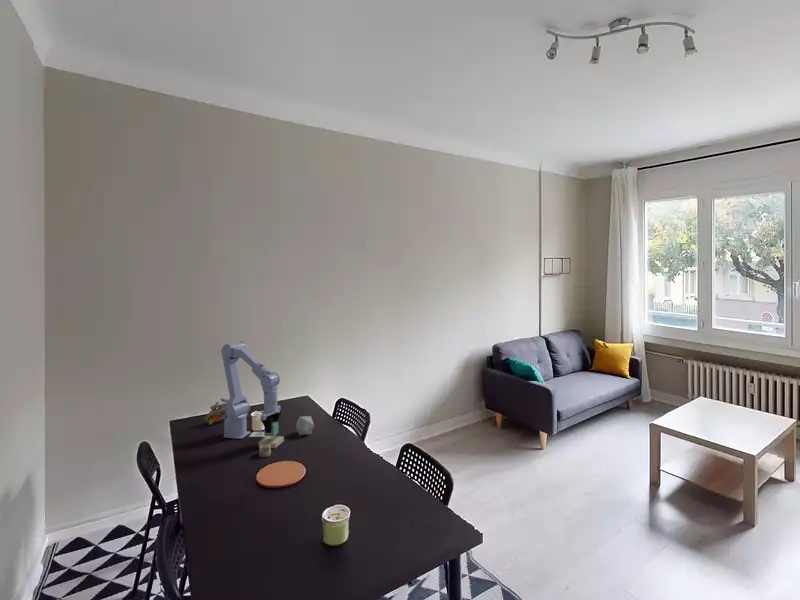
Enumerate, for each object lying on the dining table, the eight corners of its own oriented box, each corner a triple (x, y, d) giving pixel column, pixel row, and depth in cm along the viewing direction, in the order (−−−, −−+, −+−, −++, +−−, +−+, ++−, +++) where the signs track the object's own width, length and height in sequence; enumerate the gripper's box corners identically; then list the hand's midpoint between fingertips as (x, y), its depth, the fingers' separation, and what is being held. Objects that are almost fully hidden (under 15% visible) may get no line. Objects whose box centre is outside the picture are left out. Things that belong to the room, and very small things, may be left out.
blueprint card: (248, 436, 197) (248, 436, 197) (253, 431, 203) (253, 431, 203) (265, 436, 197) (265, 436, 197) (269, 432, 203) (269, 431, 203)
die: (307, 440, 195) (318, 420, 199) (290, 430, 195) (302, 411, 198) (307, 439, 203) (318, 420, 207) (291, 430, 203) (302, 411, 206)
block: (259, 457, 176) (259, 447, 175) (261, 453, 180) (260, 444, 179) (269, 456, 176) (269, 447, 176) (270, 452, 180) (270, 443, 180)
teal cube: (264, 435, 187) (264, 424, 187) (269, 432, 191) (268, 421, 191) (273, 436, 186) (273, 425, 186) (278, 432, 191) (278, 421, 190)
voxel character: (207, 425, 216) (233, 407, 225) (217, 435, 211) (243, 415, 220) (199, 411, 210) (226, 392, 219) (209, 420, 204) (236, 401, 213)
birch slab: (258, 447, 186) (258, 442, 186) (267, 440, 194) (267, 435, 194) (275, 449, 185) (275, 443, 184) (283, 441, 192) (283, 436, 192)
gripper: (270, 406, 180) (271, 437, 181) (286, 396, 194) (286, 425, 195) (255, 405, 181) (256, 436, 182) (272, 395, 196) (272, 424, 197)
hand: (271, 430), depth 189 cm, fingers closed on teal cube, 5 cm apart
